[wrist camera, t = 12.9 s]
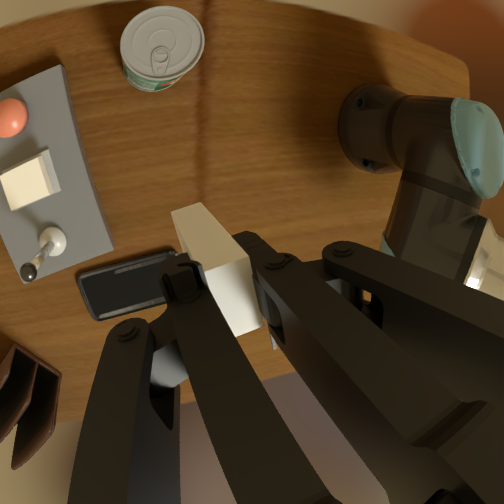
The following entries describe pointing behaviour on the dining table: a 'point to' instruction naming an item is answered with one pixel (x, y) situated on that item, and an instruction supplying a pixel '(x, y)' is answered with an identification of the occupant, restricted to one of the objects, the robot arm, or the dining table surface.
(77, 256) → the control panel
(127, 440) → the robot arm
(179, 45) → the canned tomato
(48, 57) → the dining table surface
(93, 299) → the phone
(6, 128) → the push button
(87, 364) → the dining table surface
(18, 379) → the letter holder
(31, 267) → the toggle lever
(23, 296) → the dining table surface
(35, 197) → the rocker switch
